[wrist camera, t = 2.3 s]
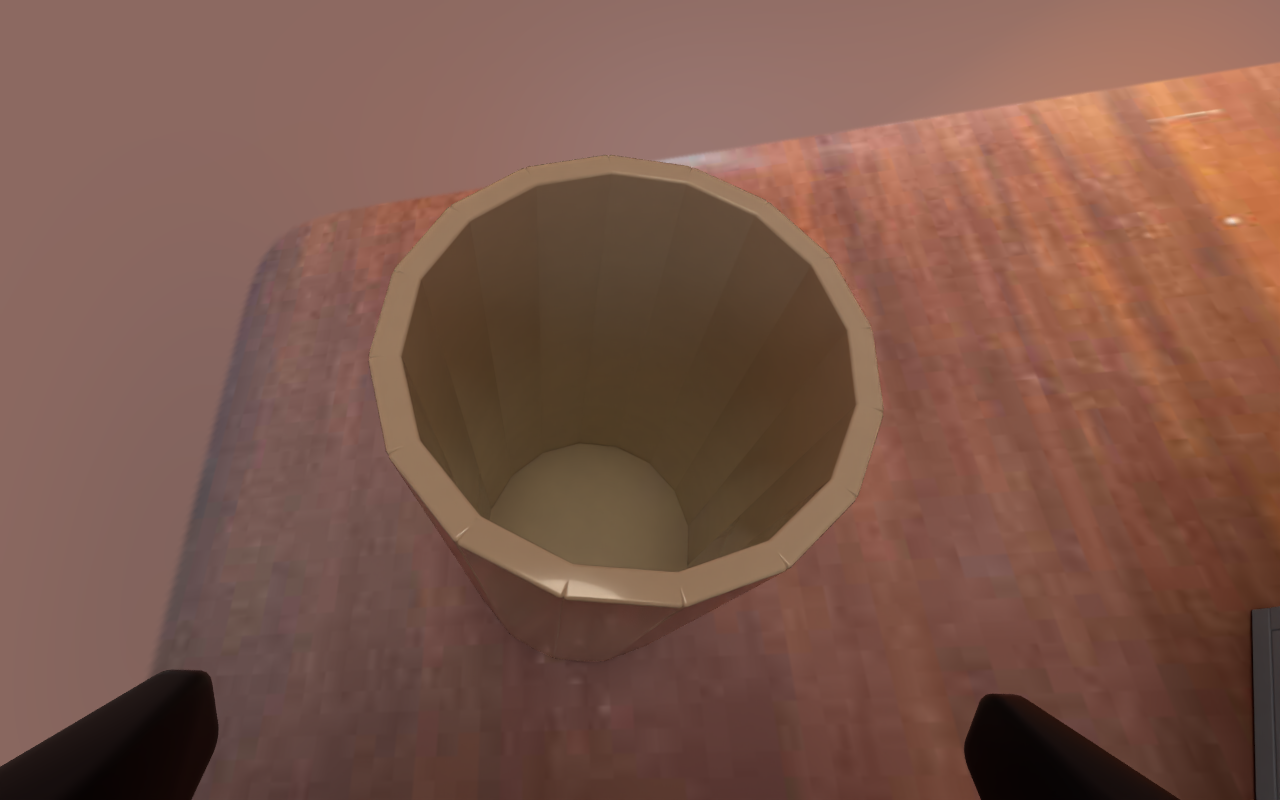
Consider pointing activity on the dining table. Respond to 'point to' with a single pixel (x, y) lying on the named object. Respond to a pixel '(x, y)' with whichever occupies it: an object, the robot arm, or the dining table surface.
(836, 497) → the tumbler
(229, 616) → the dining table surface
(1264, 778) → the tub
